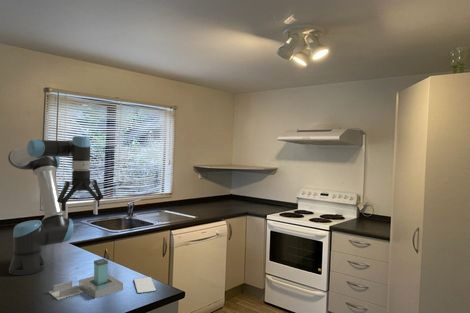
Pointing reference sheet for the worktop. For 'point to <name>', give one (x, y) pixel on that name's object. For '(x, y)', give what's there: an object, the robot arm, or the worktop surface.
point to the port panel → (100, 286)
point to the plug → (100, 271)
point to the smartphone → (144, 285)
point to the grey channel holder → (65, 290)
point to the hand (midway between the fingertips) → (80, 216)
